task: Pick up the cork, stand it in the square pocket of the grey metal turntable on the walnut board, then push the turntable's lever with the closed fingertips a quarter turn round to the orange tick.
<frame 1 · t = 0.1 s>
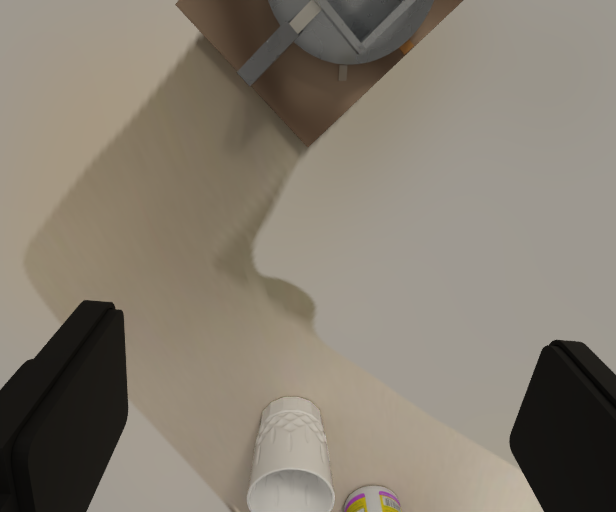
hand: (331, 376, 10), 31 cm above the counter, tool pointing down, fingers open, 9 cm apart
supplement bottle: (371, 500, 57), on the counter
white cup: (291, 418, 51), on the counter
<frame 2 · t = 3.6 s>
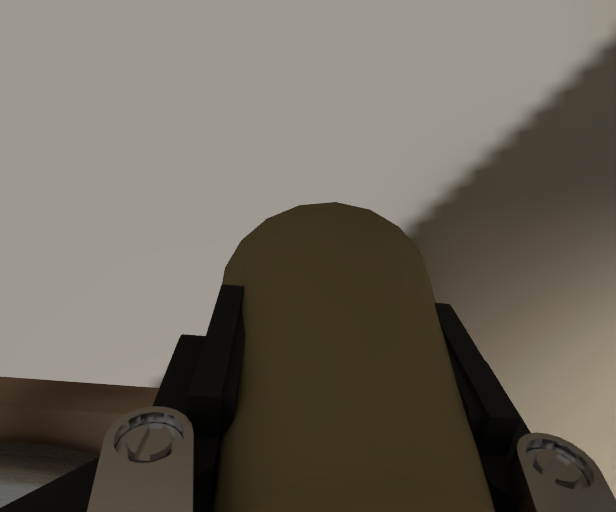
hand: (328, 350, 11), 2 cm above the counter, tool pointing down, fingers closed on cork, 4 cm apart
cork: (324, 299, 14), on the counter, touching gripper
when the fingers open (8 cm above the counter, at t = 7.0 s): cork drops 2 cm, resting on turntable.
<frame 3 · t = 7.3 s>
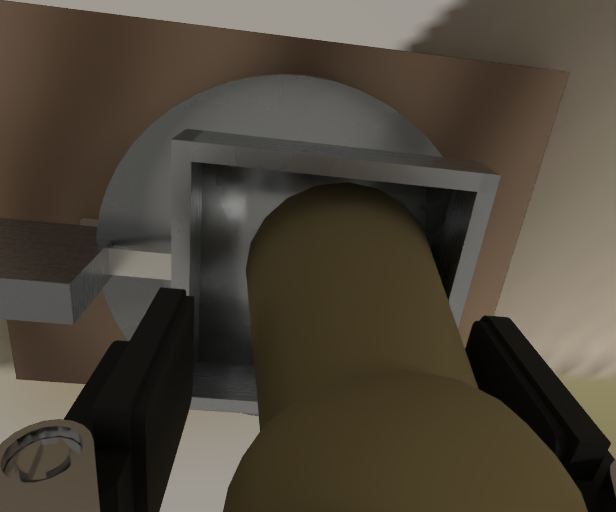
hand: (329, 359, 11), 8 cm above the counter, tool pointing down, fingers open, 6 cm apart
cork: (338, 270, 15), point 3 cm above the counter, touching turntable
board: (261, 232, 18), on the counter
turntable: (221, 274, 15), point 4 cm above the counter, hinge at 0.0°, touching cork
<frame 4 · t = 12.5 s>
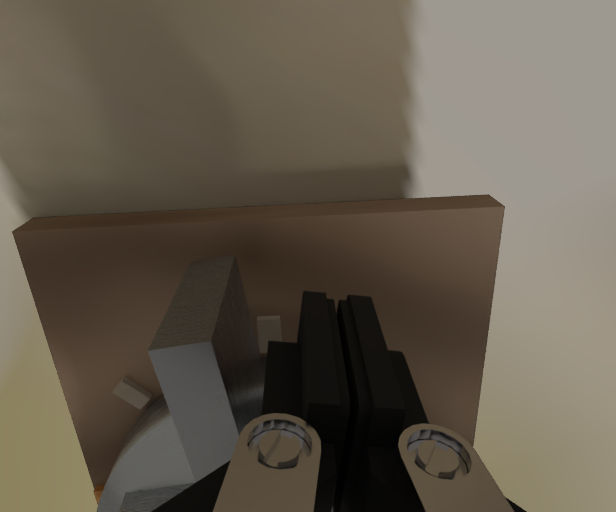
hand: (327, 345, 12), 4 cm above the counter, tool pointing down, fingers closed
board: (282, 439, 18), on the counter
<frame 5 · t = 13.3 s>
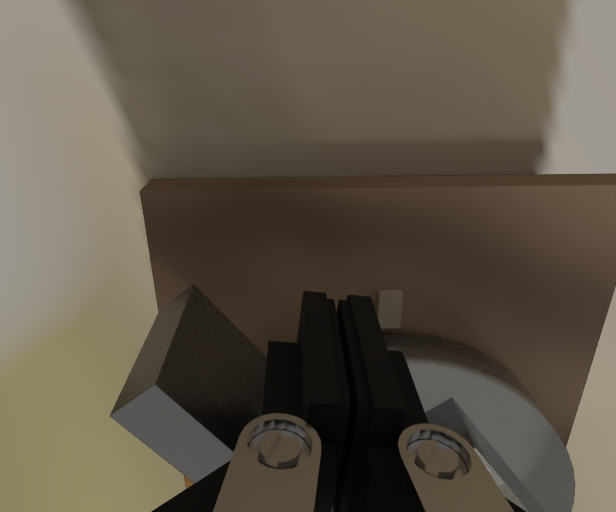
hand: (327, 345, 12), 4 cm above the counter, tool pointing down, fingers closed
board: (371, 420, 18), on the counter
turntable: (354, 504, 14), point 4 cm above the counter, hinge at 37.1°, touching gripper, cork
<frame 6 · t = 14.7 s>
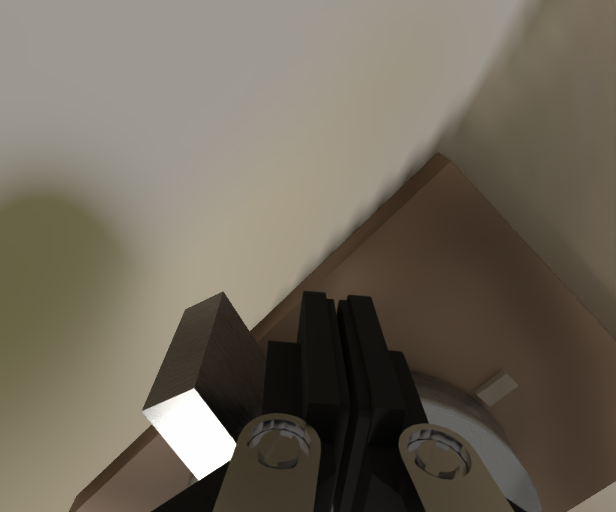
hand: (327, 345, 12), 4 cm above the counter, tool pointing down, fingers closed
board: (366, 452, 18), on the counter
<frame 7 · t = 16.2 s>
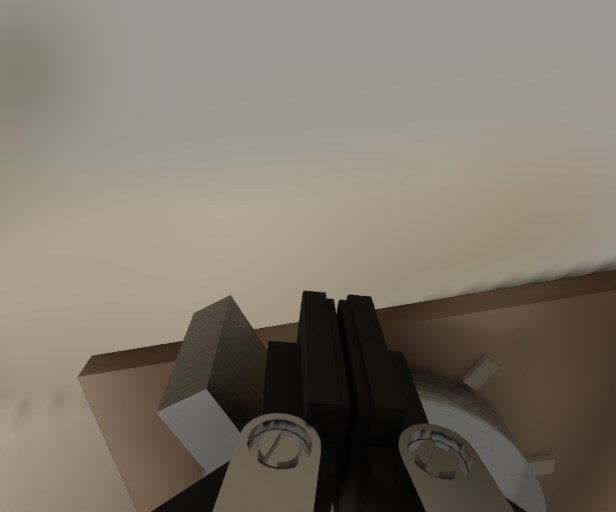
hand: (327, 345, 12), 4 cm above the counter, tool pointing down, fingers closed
board: (379, 461, 19), on the counter
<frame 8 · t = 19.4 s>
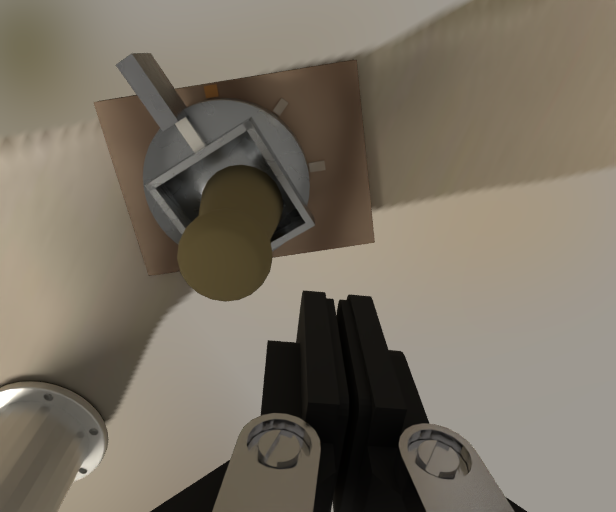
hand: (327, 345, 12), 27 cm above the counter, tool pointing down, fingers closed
cork: (242, 204, 35), point 3 cm above the counter, touching turntable
board: (245, 173, 37), on the counter
turntable: (209, 165, 33), point 4 cm above the counter, hinge at 112.2°, touching cork
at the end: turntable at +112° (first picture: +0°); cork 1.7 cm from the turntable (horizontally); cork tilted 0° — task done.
